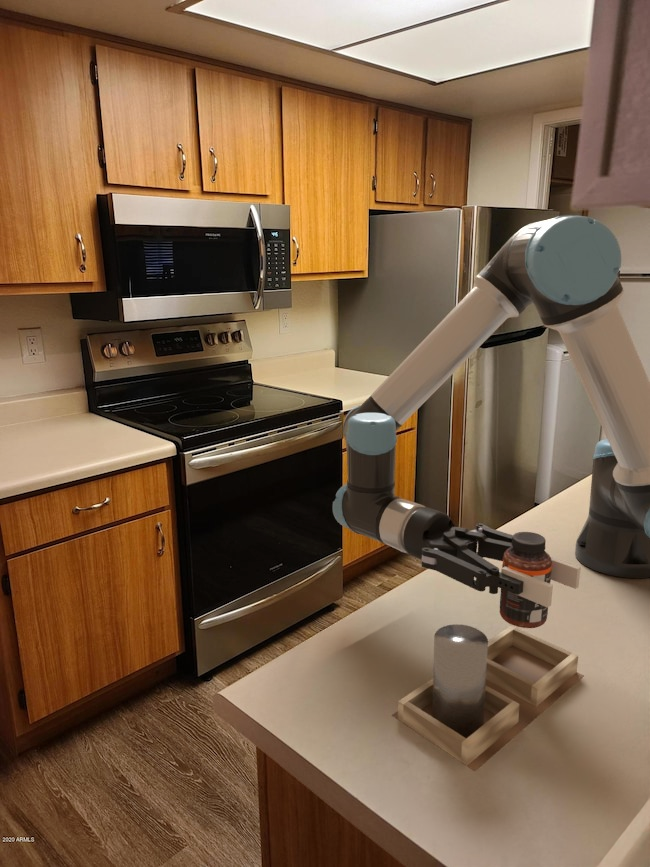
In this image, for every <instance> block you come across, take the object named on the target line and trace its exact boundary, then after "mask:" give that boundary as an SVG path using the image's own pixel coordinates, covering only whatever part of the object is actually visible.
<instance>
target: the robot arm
mask: <svg viewBox="0 0 650 867" xmlns="http://www.w3.org/2000/svg"><path fill="white" fill-rule="evenodd" d="M621 267H622V251H621V246H620V243H619V241H618V239H617V237H616V235H615V234H614V232H613V231H612V230H611V229H610V227H608V226H607V225H606V224H604V223H603V222H602V221H600V220H597V219H596V218H592V217H590V216H585V215H579V214H563V215H558V216H556V217H553V218H549V219H546V220H539V221H535V222H532V223H529V224H527V225H525V226H523V227H522V228H520V229H519V230H518V231H517V232H515V233H514V234H513V235H512V236H511V237H509V239H507V241H506V242H505V243H504V244H503V245H502V246H501V248H500V249H499V250H498V251H497V252H496V254H495V255H494V256H493V257H492V258H491V259H490V261H489V262H487V263H486V265H485V266H484V267H483V268H482V270H480V271H479V273H478V274H477V275H476V276H475V277H474V286H473V287H472V289H471V290H470V291H469V292H468V293H467V294H466V295H465V296H464V297H463V299H461V300H460V301H459V302H458V303H457V304H456V305H455V306H454V308H452V309H451V311H450V312H449V313H448V314H447V315H446V316H445V317H444V318H443V319H442V320H441V321H440V322H439V323H438V324H437V325H436V327H434V328H433V329H432V331H430V333H429V334H428V335H427V336H426V337H425V338H424V339H423V340H422V341H421V342H420V343H419V344H418V345H417V346H416V347H415V348H414V349H413V351H411V352H410V354H408V356H406V358H405V359H404V360H403V361H402V362H401V363H400V364H399V365H398V366H397V367H396V368H395V369H394V370H393V372H391V373H390V374H389V375H388V376H387V378H386V379H385V380H384V381H383V382H382V383H381V384H380V385H379V386H378V387H377V388H376V389H375V390H374V391H373V393H371V395H370V396H369V397H368V398H367V399H366V400H365V401H364V402H363V403H361V404H360V405H358V406H356V407H353V408H352V409H350V411H348V412H347V414H346V416H345V418H344V421H343V424H342V433H343V437H344V440H345V449H346V463H347V464H346V467H347V468H346V469H347V479H346V480H347V481H346V483H345V484H344V485H342V486H341V487H340V488H338V490H337V492H336V494H335V499H334V501H332V514H333V516H334V519H335V520H336V521H337V523H339V525H341V526H343V527H344V528H347V529H349V530H350V531H351V532H353V533H355V534H357V535H362V536H364V537H367V538H370V539H372V540H374V541H377V542H379V543H381V544H384V545H386V546H389V547H392V548H393V549H396V550H397V551H400V553H404V554H408V555H410V556H411V557H413V558H415V559H418V560H420V561H421V567H422V568H424V569H427V570H432V571H435V572H438V573H439V574H440V573H441V574H443V576H446V577H449V578H450V579H453V580H454V581H456V582H459V583H461V584H463V585H465V586H466V587H467V586H468V587H469V588H472V589H473V590H476V591H478V592H484V591H486V587H487V588H488V593H489V594H491V595H496V594H498V593H499V589H500V590H501V589H504V590H506V591H508V592H511V593H513V594H516V595H519V596H521V597H523V598H526V599H528V600H531V601H533V602H535V603H538V604H540V605H543V606H545V607H547V608H548V609H549V607H551V606H552V601H553V589H554V588H553V587H554V585H553V584H552V583H550V584H549V583H547V582H544V581H542V580H539V579H537V578H534V577H531V576H529V575H526V574H524V573H521V572H518V571H516V570H513V569H511V568H508V567H503V568H501V571H500V568H499V567H498V566H496V565H495V564H493V563H491V562H490V561H488V560H486V559H489V560H490V559H491V560H495V561H499V562H503V556H504V553H505V551H506V550H507V549H509V548H511V547H512V544H511V543H512V537H513V535H514V534H510V533H507V532H503V531H500V530H497V529H494V528H491V527H489V526H487V525H485V524H484V523H477V524H476V525H475V526H476V527H475V529H472V530H470V529H468V528H465V527H460V526H456V525H455V524H454V522H453V520H452V519H451V517H450V516H449V515H448V514H447V513H445V512H442V511H440V510H437V509H433V508H431V507H427V506H425V505H424V504H420V503H417V502H414V501H411V500H408V499H405V498H402V497H400V496H397V495H395V492H396V490H395V488H396V480H395V477H396V476H395V475H396V456H397V455H396V454H397V453H396V452H397V449H396V448H397V441H398V436H397V431H398V430H399V429H400V428H401V427H402V426H403V425H404V424H405V423H406V422H407V421H408V420H409V418H411V417H412V415H413V414H415V413H416V412H417V411H418V410H419V408H421V407H422V406H423V405H424V403H425V402H427V400H429V398H431V397H432V396H433V394H435V392H436V391H437V390H439V389H440V387H441V386H442V385H443V384H444V383H446V381H447V380H448V379H449V378H450V377H451V376H453V375H454V373H455V372H456V371H457V370H458V369H459V368H460V367H462V365H463V364H464V363H465V362H466V361H467V360H468V359H469V358H470V357H471V356H472V355H473V354H474V353H475V352H476V350H478V349H479V347H481V346H482V345H483V344H484V342H486V341H487V340H488V339H489V338H490V337H491V336H492V335H493V333H495V331H497V329H499V327H501V326H502V325H503V324H504V323H505V321H506V320H507V319H509V318H518V317H519V316H520V315H521V314H522V313H523V312H525V310H526V309H527V308H528V307H530V306H531V305H534V307H535V309H536V312H537V314H538V316H539V318H540V320H541V322H542V325H543V326H544V327H545V328H548V329H551V330H553V331H557V332H558V333H559V335H560V338H561V339H562V342H563V344H564V346H565V348H566V351H567V354H568V355H569V358H570V360H571V362H572V364H573V366H574V368H575V371H576V373H577V375H578V378H579V379H580V381H581V384H582V386H583V388H584V390H585V392H586V395H587V397H588V399H589V402H590V404H591V406H592V408H593V410H594V412H595V415H596V417H597V419H598V422H599V424H600V425H601V428H602V430H603V432H604V434H605V437H606V438H605V439H601V440H600V441H598V442H597V443H596V444H595V447H594V454H593V457H592V460H593V461H592V473H591V484H590V498H589V508H588V516H587V519H586V521H585V522H584V525H583V526H582V528H581V531H580V533H579V534H578V536H577V539H576V543H575V550H574V555H575V557H576V559H577V560H578V562H580V563H581V564H582V565H584V566H586V567H587V568H589V569H591V570H594V571H596V572H599V573H602V574H605V575H607V576H613V577H619V578H626V579H627V578H628V579H646V578H650V379H649V377H648V375H647V372H646V370H645V367H644V366H643V363H642V361H641V358H640V356H639V353H638V350H637V348H636V347H635V344H634V341H633V340H632V337H631V334H630V332H629V330H628V328H627V325H626V323H625V320H624V319H623V316H622V313H621V311H620V309H619V305H618V304H619V302H620V300H621V298H622V296H623V294H624V291H625V290H624V287H623V285H622V283H621V280H620V278H619V271H620V268H621ZM550 557H551V560H552V568H551V581H554V582H556V583H558V584H562V585H565V586H566V587H570V588H572V589H578V588H579V586H580V578H581V576H580V575H581V567H580V566H578V565H575V564H572V563H569V562H566V561H563V560H560V559H557V558H555V557H553V556H550ZM485 558H486V559H485Z"/></svg>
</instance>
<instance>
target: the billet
mask: <svg viewBox="0 0 650 867" xmlns="http://www.w3.org/2000/svg"><path fill="white" fill-rule="evenodd" d="M433 639H434V640H433V642H434V643H433V644H434V645H433V677H432V678H433V709H432V717H433V718H435V719H436V720H438V721H439V722H441V723H443V724H444V725H446V726H447V727H449V728H450V729H452V730H454V731H455V732H457V733H458V734H460V735H461V736H463V737H465V738H468V737H469V736H470V735H472V734H473V733H474V732H475V731H477V730H478V729H479V728H480V727H482V726H483V725H484V710H485V691H486V671H487V651H488V641H489V640H488V637H487V636H486V634H485V633H484V632H482V631H481V630H480V629H478V628H476V627H473V626H470V625H467V624H457V623H456V624H448V625H444V626H442V627H440V628H439V629H437V630H436V631H435V634H434V638H433Z"/></svg>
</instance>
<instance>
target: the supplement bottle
mask: <svg viewBox="0 0 650 867" xmlns="http://www.w3.org/2000/svg"><path fill="white" fill-rule="evenodd" d="M512 535H513V537H512V543H511V544H512V547H511V548H509V549H507V550H506V551H505V553H504V556H503V561H502V566H501V567H502V568H503V567H508V568H511V569H513V570H516V571H518V572H521V573H524V574H526V575H529V576H531V577H534V578H537V579H539V580H542V581H544V582H547V583H549V584H551V582H552V580H551V568H552V560H551V557H552V556H550V554H549V553H548V552H546V551H545V550H546V538H545V536H543V535H541V534H540V533H536V532H533V531H532V532H531V531H520V532H516V533H514V534H512ZM502 568H501V569H502ZM548 614H549V607H548V608H547V607H545V606H543V605H540V604H538V603H535V602H533V601H531V600H528V599H526V598H523V597H521V596H519V595H516V594H513V593H511V592H508V591H506V590H504V589H501V588H500V599H499V615H500V616H501V618H502V619H503V620H504V621H505V622H506V623H508V624H509V625H510V626H511V625H512V626H514V627H517V628H523V629H536V628H539V627H542V626H543V625H544V624H545V623H546V622H547V620H548V619H547V618H548Z"/></svg>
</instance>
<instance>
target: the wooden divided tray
mask: <svg viewBox="0 0 650 867" xmlns="http://www.w3.org/2000/svg"><path fill="white" fill-rule="evenodd" d="M578 662H579V655H578V654H576V653H574V652H571V651H569V650H567V649H566V648H564V647H560V646H558V645H556V644H554V643H551V642H550V641H547V640H545V639H543V638H541V637H538V636H537V635H534V634H532V633H530V632H527V631H525V630H523V629H521V628H520V627H517V626H514V625H511V624H510V626H508V627H507V628H505V629H504V630H502V631H500V632H499V633H498V634H496V635H495V636H493V637H491V638H490V639H489V640H488V651H487V671H486V691H485V710H484V725H483V726H482V727H480V728H479V729H478V730H477V731H475V732H474V733H473V734H472V735H470V736H469V737H468V738H465V737H463V736H461V735H460V734H458V733H457V732H455V731H454V730H452V729H450V728H449V727H447V726H446V725H444V724H443V723H441V722H439V721H438V720H436V719H435V718H433V717H432V709H433V677H432V678H431V679H429V680H427V681H426V682H425V683H423V684H422V685H420V686H419V687H417V688H416V689H414V690H413V691H412V692H410V693H408V694H406V695H405V696H404V697H402V698H401V699H400V700H398V702H397V703H398V704H397V705H398V707H397V711H395V712H394V713H392V715H391V716H392V717H394V718H395V719H396V720H399V721H400V722H401V723H403V724H404V725H406V726H407V727H409V728H410V729H412V730H413V731H415V733H417V734H419V735H420V736H422V737H423V738H425V739H426V740H428V741H429V742H430V743H432V744H434V745H436V747H437V748H440V749H441V750H442V751H444V752H445V753H447V754H448V755H450V756H452V758H455V759H456V760H458V761H459V763H462V764H464V765H465V766H466V767H468V768H469V769H470V770H472V771H473V772H476V771H477V770H478V769H480V767H482V766H483V765H484V764H486V762H488V760H489V759H491V758H492V757H493V756H494V755H495V754H496V753H498V752H499V751H500V750H501V749H502V748H503V747H505V746H506V745H507V744H508V743H510V741H511V740H512V739H514V738H515V737H516V736H517V735H518V734H519V733H521V732H522V731H523V730H524V729H525V728H526V727H527V726H529V725H530V724H531V723H533V721H534V720H535V719H537V718H538V717H539V716H540V715H541V714H543V712H544V711H546V710H547V709H548V708H549V707H550V706H551V705H553V703H555V702H556V701H557V700H558V699H559V698H561V696H563V695H564V694H565V693H566V692H567V691H569V690H570V689H571V688H572V687H573V686H574V685H575V684H577V683H578V682H579V681H580V680H581V679H582V678H583V677H584V676H585V675H584V674H581V673H580V672H577V671H578V664H579V663H578Z"/></svg>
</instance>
